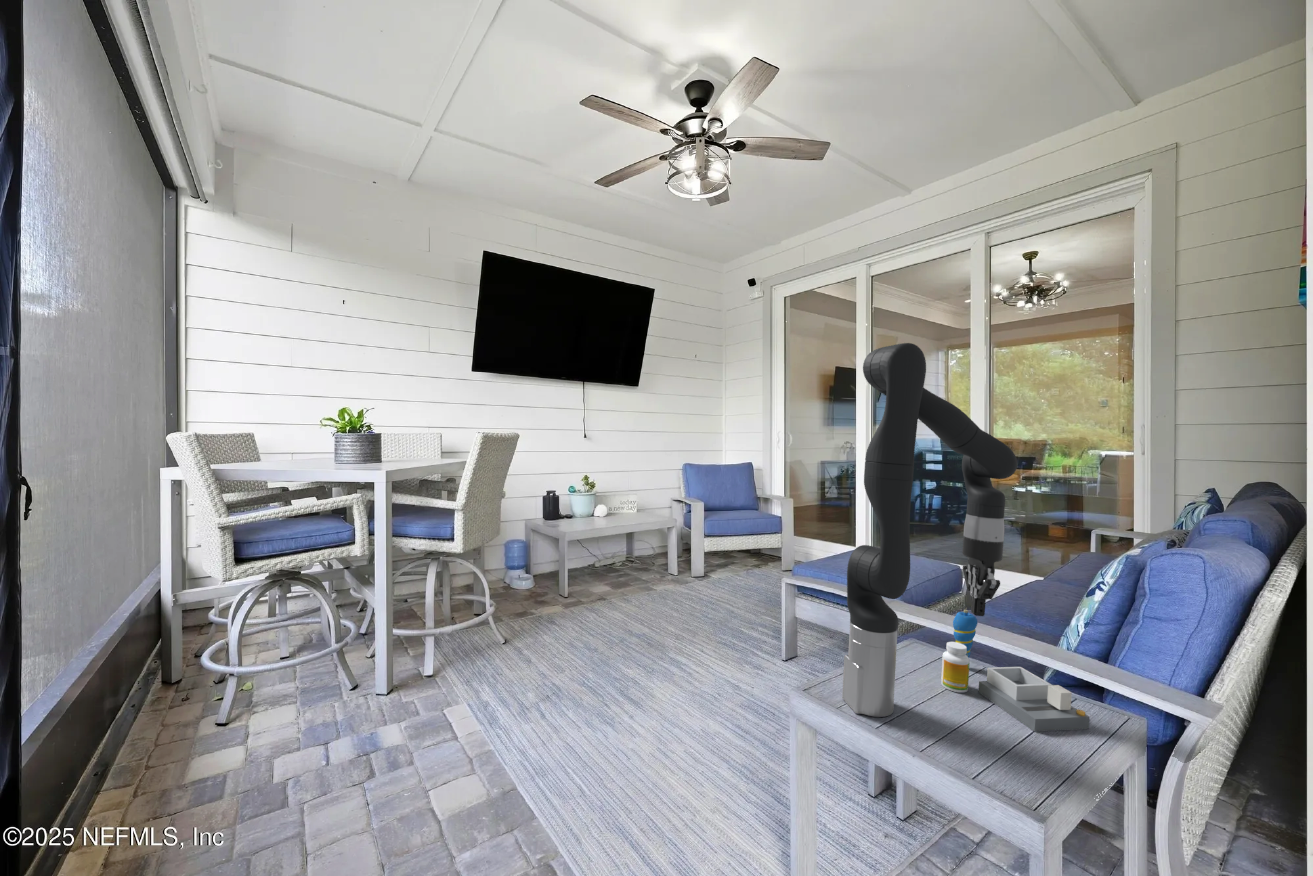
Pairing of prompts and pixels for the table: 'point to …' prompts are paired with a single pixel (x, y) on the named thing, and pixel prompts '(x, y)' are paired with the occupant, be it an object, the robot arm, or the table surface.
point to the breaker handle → (1059, 697)
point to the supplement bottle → (955, 668)
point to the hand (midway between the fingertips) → (977, 614)
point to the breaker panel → (1029, 700)
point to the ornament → (965, 629)
